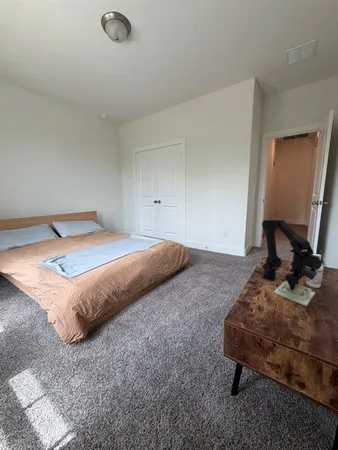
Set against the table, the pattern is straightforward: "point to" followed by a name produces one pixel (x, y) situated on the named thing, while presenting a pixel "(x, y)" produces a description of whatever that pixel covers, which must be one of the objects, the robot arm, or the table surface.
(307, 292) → the socket board
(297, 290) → the peg
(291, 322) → the table surface
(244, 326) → the table surface
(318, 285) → the bath foam
